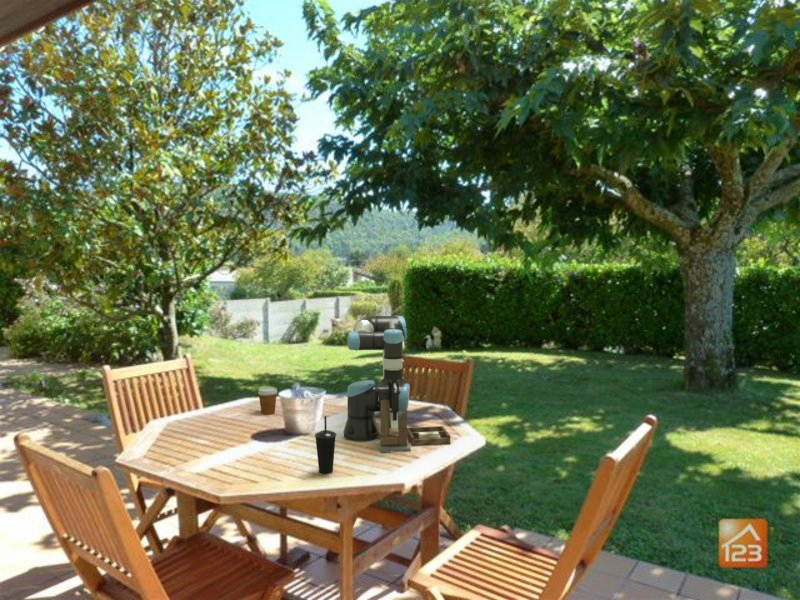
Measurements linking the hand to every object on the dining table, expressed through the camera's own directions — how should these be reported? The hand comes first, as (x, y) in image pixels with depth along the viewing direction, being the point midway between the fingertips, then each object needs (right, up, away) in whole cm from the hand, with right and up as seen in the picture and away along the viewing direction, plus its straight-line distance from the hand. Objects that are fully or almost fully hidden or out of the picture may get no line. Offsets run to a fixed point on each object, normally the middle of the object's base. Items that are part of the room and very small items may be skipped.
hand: (393, 426), depth 234 cm
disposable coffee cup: (-62, -5, +53) cm, 82 cm away
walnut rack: (+14, -8, +10) cm, 19 cm away
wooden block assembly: (0, -8, +1) cm, 8 cm away
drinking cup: (-24, -11, -26) cm, 37 cm away
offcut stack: (+15, -8, +7) cm, 18 cm away
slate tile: (0, -9, +1) cm, 9 cm away
